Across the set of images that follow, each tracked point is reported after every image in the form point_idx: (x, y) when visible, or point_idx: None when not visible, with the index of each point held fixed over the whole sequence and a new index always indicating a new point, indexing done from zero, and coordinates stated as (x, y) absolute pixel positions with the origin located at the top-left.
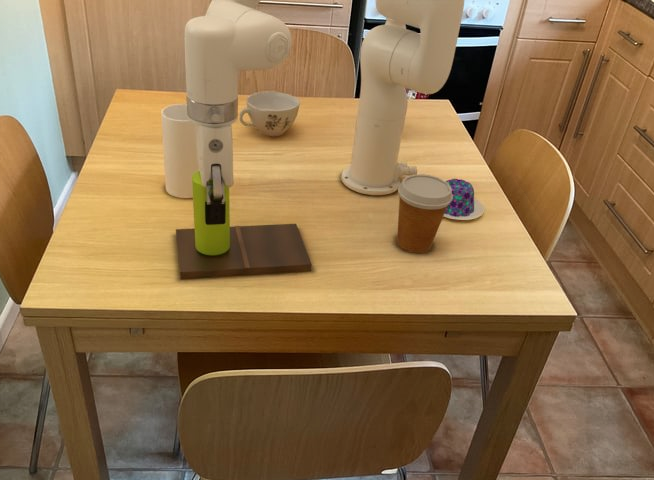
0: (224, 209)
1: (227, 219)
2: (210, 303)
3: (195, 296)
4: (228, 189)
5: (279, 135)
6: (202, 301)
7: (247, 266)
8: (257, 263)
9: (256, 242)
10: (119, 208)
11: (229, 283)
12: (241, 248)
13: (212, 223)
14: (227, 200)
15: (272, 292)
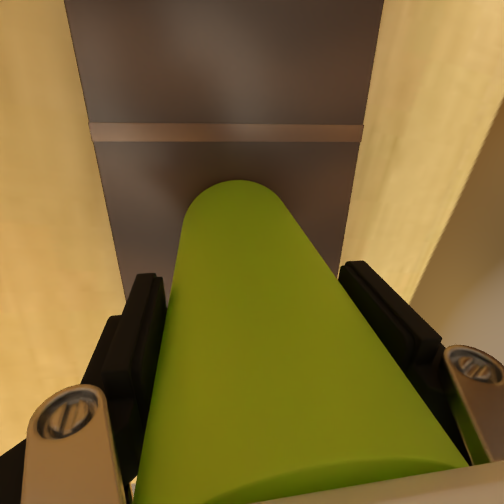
0: (407, 309)
1: (304, 240)
2: (424, 237)
3: (390, 266)
4: (363, 353)
5: None
6: (411, 252)
7: (357, 132)
8: (347, 91)
9: (214, 66)
10: (9, 426)
11: (369, 186)
12: (251, 137)
13: None
14: (343, 302)
15: (448, 61)
